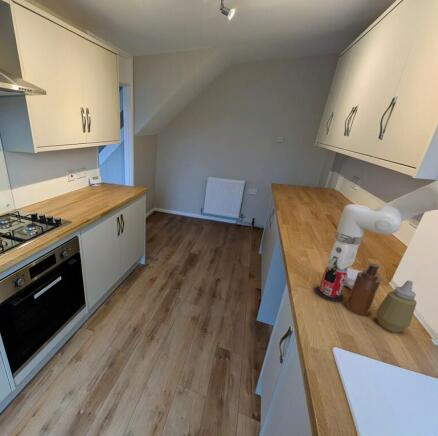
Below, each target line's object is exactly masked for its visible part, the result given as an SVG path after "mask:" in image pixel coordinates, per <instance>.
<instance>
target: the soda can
mask: <svg viewBox="0 0 438 436" xmlns="http://www.w3.org/2000/svg"><path fill="white" fill-rule="evenodd" d="M335 266H337V265H336V264H335ZM333 269H334V271H335V269H336V268H335V267H333ZM326 272H327V267H325V270H324V272H323V274H322V278H321V281H320V285H319V287H320V291H321V292H322V293H323V294H325V295H326V296H329V297H339V296H340V295H342V293H343V290H344V287H345V282H346V279H347V269H346V268H345V269H342V270H341V269H340V268H339V269H338V271H337V273H336V274H337V276H336V279H335V282H334V283H330V282H328V281H326V280H325V279H324V278H325V275H326Z"/></svg>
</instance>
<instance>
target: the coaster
mask: <svg viewBox="0 0 438 436" xmlns="http://www.w3.org/2000/svg"><path fill="white" fill-rule="evenodd" d="M315 293H316V294H317V295H318V296H319V297H321V298H322V299H325V300H327V301H330V302H335V303H336V302H337V303H338V302H341V301H343V299H344V297H343V295H342V294H341V295H340V296H339V297H329V296H326V295H325V294H323V293H322V292H321V291H320V286H316V288H315Z"/></svg>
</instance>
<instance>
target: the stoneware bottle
mask: <svg viewBox="0 0 438 436" xmlns="http://www.w3.org/2000/svg"><path fill="white" fill-rule="evenodd" d="M379 268H380V265H378V264H376V263H373V262H371V263H369V264H368V266H367V269H363V270H362V272H359V273H358V274H357V277H356V279H355V282H354V285H353V287H352V290H351V289H350V294H349V296H348V297H347V301H346V303H345V307H346V308H347V309H348V310H349V311H350V312H352V313H355V314H357V315H361V316H367V315H368V314H369V312H370V310H371V308H372V305H373V303H374V300H375V298H376V297H377V293H378V292H379V291H378V290H379V289H380V286H381V284H382V282H383V281H382V278H380V274H379V273H378V271H379Z"/></svg>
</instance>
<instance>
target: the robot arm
mask: <svg viewBox="0 0 438 436" xmlns="http://www.w3.org/2000/svg"><path fill="white" fill-rule="evenodd" d="M433 211H438V179H437V180H435V181H432V182H431V183H428V184H427V185H424V186H422V187H420V188H417V189H416V190H413V191H411V192H408V193H406V194H403V195H401V196H399V197H397V198H395V199H392V200H391V201H388V202H387V203H385V204H383V205H381V206H378V207H377V208H376V209H375V210H372V209H371V208H370V207H369V206H367V205H362V204H356V203H355V204H354V203H350V204H346V205H345V206H344V207H343V209H342V212H341V216H340V219H339V223H338V225H337V229H336V231H335V235H334V241H335V242H334V244H333V246H332V249H331V251H330V254H329V257H328V260H327V265H326V268H327V272H326V275H325V278H324V279H325V280H326V281H328V282H330V283H334V282H335V279H336V276H337V274H336V273H337V271H338V269H339V268H340V269H341V270H342V269H345V268H346V269H347V268H350V267H351V266H353V264H354V263H355V260H356V258H357V257H356V256H357V253H358V250H359V246H360V245H361V243H362V240H363V238H364V234H365V232H366V231H370V232H373V233H376V234H377V235H378V234H379V235H393V234H395V233H397V232H398V231H399V230H400V229H401V226H402V222H404V221H406V220H409V219H411V218H414V217H416V216H418V215H421V214H424V213H428V212H433ZM335 264H336V265H337V266H335ZM333 267H335V268H336V269H335V271H334V269H333Z"/></svg>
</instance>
